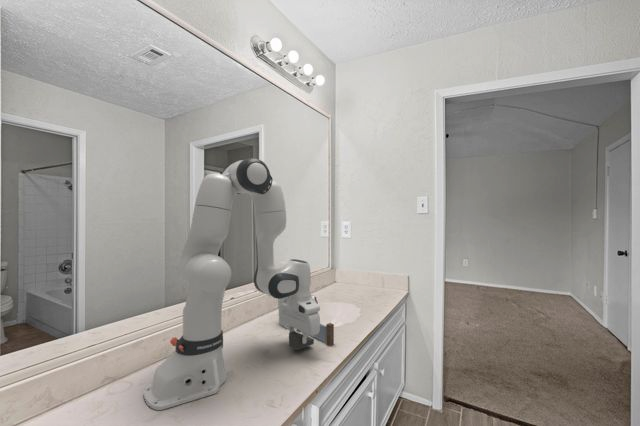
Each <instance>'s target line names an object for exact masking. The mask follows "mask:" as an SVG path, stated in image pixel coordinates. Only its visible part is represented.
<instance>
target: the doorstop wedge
mask: <svg viewBox="0 0 640 426" xmlns="http://www.w3.org/2000/svg"><path fill="white" fill-rule="evenodd" d="M302 337H303V334H302V333H301V332H298V331H295V330H294V331H293V332H288V347H291V348H292V349H294V350H296V351H299V350H301V349H305V348H307V347H310V346H312V345H314V344H315V340H314V338H313V337H310V336H308V337H307V342H306V343H305V344H303V343H301V338H302Z"/></svg>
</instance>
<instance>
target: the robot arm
mask: <svg viewBox="0 0 640 426" xmlns="http://www.w3.org/2000/svg"><path fill="white" fill-rule="evenodd" d="M241 194H247V195H249V196H250V198H251V200H252V204H253V212H254V214H253V215H254V221H255V224H254V225H255V233H256V234H255V240H256V241H255V244H256V248H255V249H256V268H255V269H256V270H255V272H254V276H253V285H254V287H255V289H256V290H257V291H258V292H260V293H264V294H266V295H268V296H269V297H272V298H274V299H277V300H278V299H281V298H285V297H287V298H285V299H283V301H282V305H281V308H280V321H281V322H282V323H284V324H287V325H288V331H289V332H288V333H290V332H293V331H295V330H296V331H297V330H299V331H302V332H301V334H302V335H303V337H302V338H301V343H303V344H305V343H306V342H307V337H310V336H311V337H313V336H314V335H317V334H318V333H319V331H320V324H321V318H320V317H321V316H320V313H319V312H320V310H321V306H320V305H319V304H318V303H317V302H316V301H315V300H314V299H313V298H312V297H311V291H310V288H311V283H312V280H311V279H312V276H311V266H310V264H309V262H308V261H305V260H301V259H296V258H294V259H293V258H292V259H289V260H288V262H287V263H285V265H283V266H281V267H280V268H277V267H276V266H275V262H274V261H275V260H274V258H275V257H274V243H275V241H276V239H277V238H278V237H279V236H280V235H281V234H282V233H283V232H284V230H285V229H286V227H287V210H286V209H287V208H286V203H285V198H284V193H283V190H282V186H281V185H280V183H279V182H278V181H276V180H274V179H273V177H272V175H271V172H270V169H269V167H268V166H267V165H266V163H265V162H264V161H263V160H261V159H259V158H255V157H249V158H245V159H242V160H241V159H240V160H237V161H235V162H233V163H231V164H229V165H227V166H226V167H225V168H224V169H223V171H221V172H220V173H216V172H214V173H209V174H207V175H205V176H204V177H203V179H202V181H201V183H200V185H199V188H198V192H197V193H196V198H195V203H194V208H193V214H192V218H191V224H190V229H189V233H188V236H187V239H186V241H185V244H184V247H183V249H182V252H181V256H180V258H179V259H178V261H177V264H176V271H177V275H178V277H179V279H180V280H181V281H182V282H184V284H187V296H186V301H185V306H184V307H183V310H182V336H181V337H180V338H179V339H178V338H177V337H172V338H171V339H170V344H171V345H172V346H173V347H175V350H174V352H173V353H172V354H171V355H169V356H168V357H167V358H166V359H165V360H164V361H163V362H162V363H161V364H160V365H158V367H156V369H155V371H154V375H153V380H152V382H151V383H148V384H147V385H146V386H145V388H144V391H143V399H145V400H144V401H146V402H145V404H147V406H148V407H149V406H150V408H151V409H153V410H156V411H162V410H163V411H164V410H166V409H169V408H172V407H175V406H176V407H177V406H179V405H182V404H186V403H189V402H192V401H196V400H200V399H202V398H205V397H209V396H212V395H215V394H217V393H219V391H220V387H221V386H222V385H223V384H224V383H225V382H226V380H227V378H228V374H227V369H226V366H225V361H224V355H223V348H224V332H223V330H222V321H223V320H222V316H223V315H222V312H223V311H222V310H223V309H222V308H223V301H224V297H225V292H226V288H227V287H228V285H229V284H230V282H231V279H232V269H231V266H230V265H229V263H228V262H227V261H226V260H224V258H222V257H221V256H219V253H220V250H221V247H222V245H223V243H224V241H225V239H226V238H227V237H228V234H229V229H230V224H231V223H230V221H231V218H232V217H231V216H232V211H233V203H234V200H235V197H236V196H237V195H241Z"/></svg>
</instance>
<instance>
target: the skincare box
mask: <svg viewBox="0 0 640 426" xmlns="http://www.w3.org/2000/svg"><path fill="white" fill-rule="evenodd" d="M285 298H287V297H285ZM285 298H281V299H277V303H278V304H277V305H278V307H277V309H278V324H279V325H280V326H282V327H283V328H285V329H286V330H287V329H288V325H287V324H284V323H282V322H281V321H280V308H281V305H282V301H283V299H285ZM288 330H289V329H288Z"/></svg>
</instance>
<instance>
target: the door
mask: <svg viewBox="0 0 640 426" xmlns="http://www.w3.org/2000/svg"><path fill="white" fill-rule="evenodd" d="M312 338H315V339H318V340H320V341H322V342H325V343H326V325H324V324H322V323H320V331H319V333H318V334H317V335H314V336H312Z"/></svg>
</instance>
